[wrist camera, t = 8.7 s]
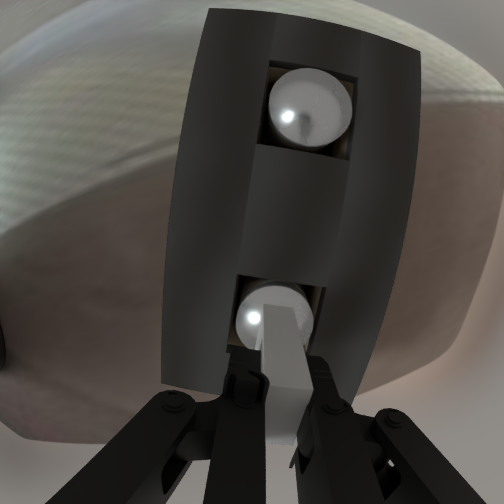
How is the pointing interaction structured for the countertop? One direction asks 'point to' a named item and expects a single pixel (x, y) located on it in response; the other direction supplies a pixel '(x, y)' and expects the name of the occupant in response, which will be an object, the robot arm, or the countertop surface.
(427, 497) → the robot arm
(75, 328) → the countertop surface
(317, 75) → the steel peg
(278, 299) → the steel peg
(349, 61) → the block
